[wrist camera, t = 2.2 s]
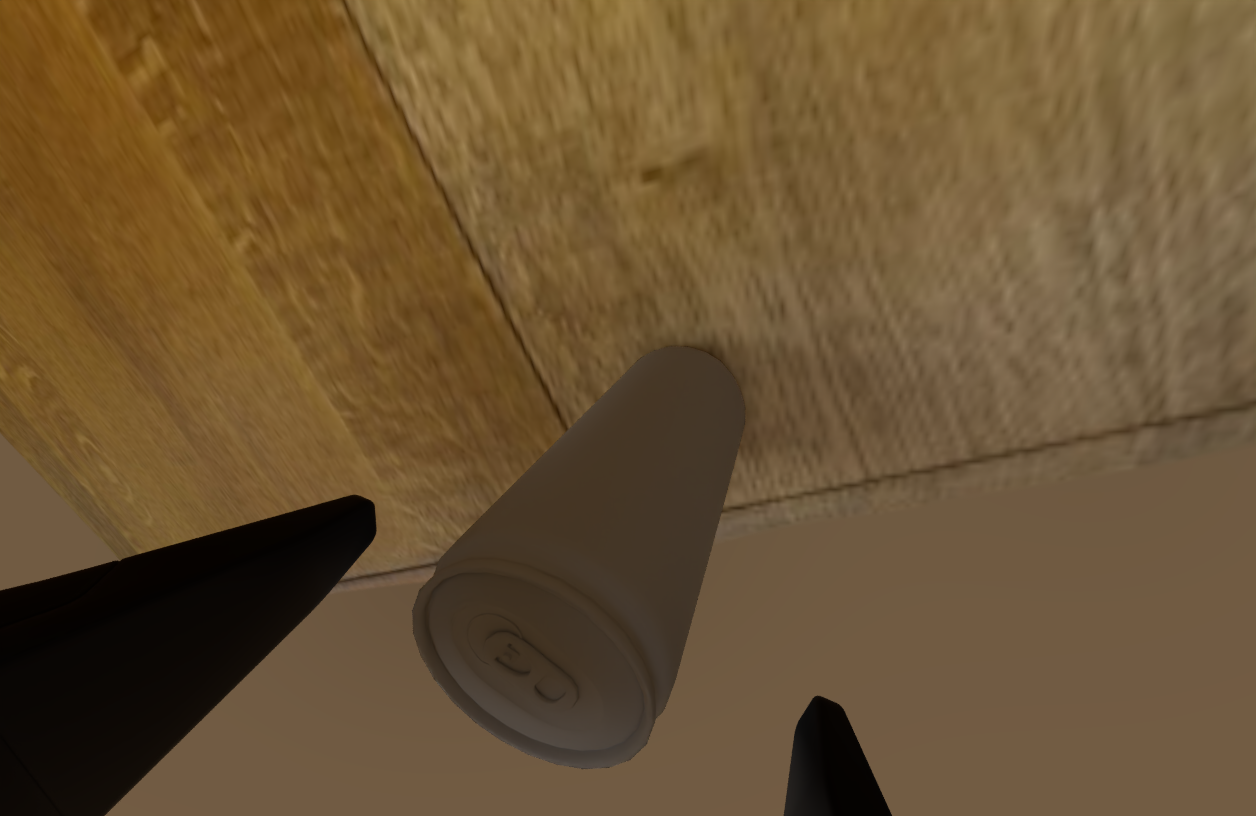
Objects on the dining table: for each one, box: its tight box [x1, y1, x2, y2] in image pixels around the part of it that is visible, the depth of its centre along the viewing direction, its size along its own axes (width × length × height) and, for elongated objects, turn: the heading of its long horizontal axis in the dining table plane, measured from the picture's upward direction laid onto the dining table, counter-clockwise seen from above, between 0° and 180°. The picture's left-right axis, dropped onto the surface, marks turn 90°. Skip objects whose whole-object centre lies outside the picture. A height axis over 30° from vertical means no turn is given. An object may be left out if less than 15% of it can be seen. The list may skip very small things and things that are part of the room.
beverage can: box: [412, 346, 745, 769], centre depth 13 cm, size 5×5×12 cm
